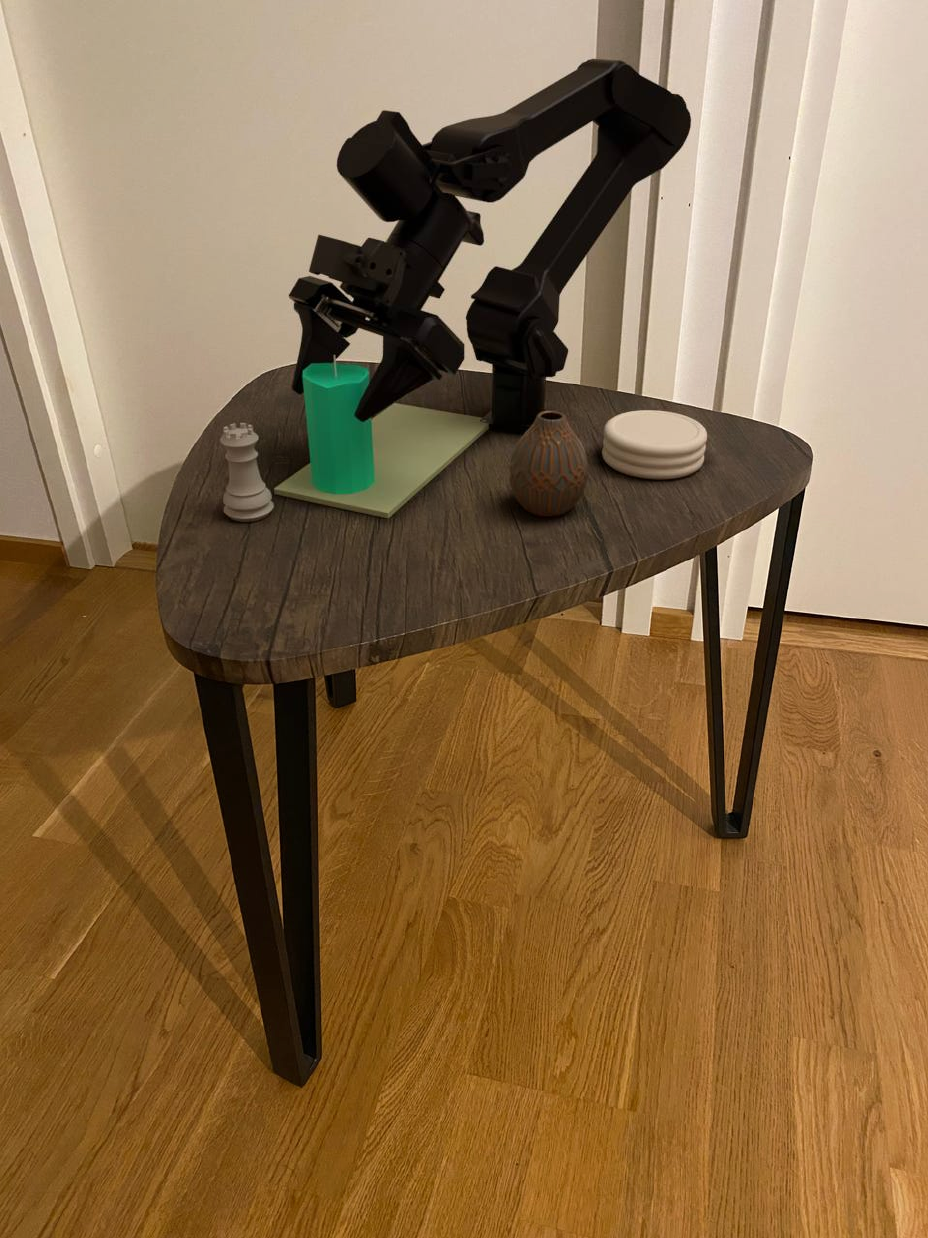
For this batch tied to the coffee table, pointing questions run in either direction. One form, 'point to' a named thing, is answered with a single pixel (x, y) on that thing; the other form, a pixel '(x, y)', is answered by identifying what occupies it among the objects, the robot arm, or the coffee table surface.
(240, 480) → the rook chess piece
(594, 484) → the coffee table surface
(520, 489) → the vase
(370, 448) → the candle
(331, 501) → the pale green rectangular board
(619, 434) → the coaster
